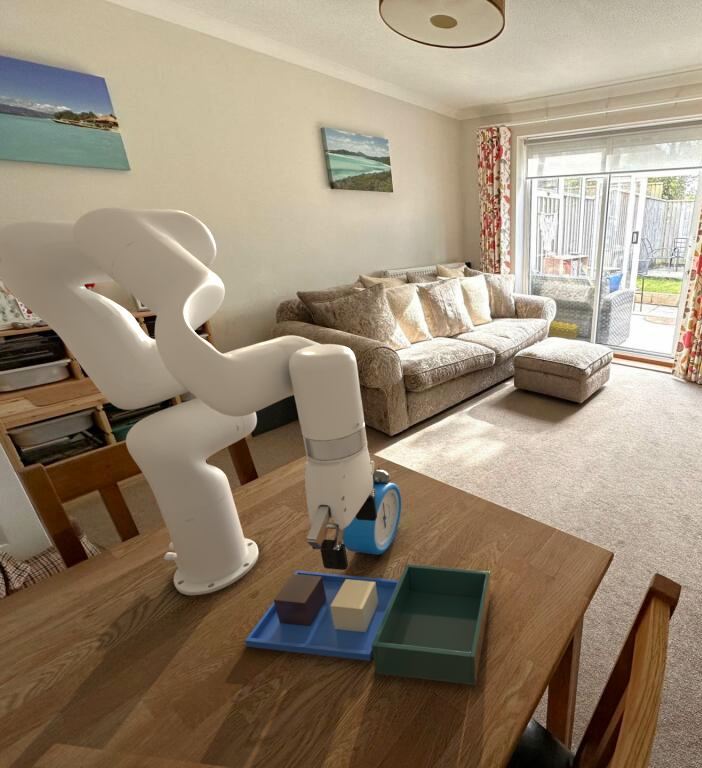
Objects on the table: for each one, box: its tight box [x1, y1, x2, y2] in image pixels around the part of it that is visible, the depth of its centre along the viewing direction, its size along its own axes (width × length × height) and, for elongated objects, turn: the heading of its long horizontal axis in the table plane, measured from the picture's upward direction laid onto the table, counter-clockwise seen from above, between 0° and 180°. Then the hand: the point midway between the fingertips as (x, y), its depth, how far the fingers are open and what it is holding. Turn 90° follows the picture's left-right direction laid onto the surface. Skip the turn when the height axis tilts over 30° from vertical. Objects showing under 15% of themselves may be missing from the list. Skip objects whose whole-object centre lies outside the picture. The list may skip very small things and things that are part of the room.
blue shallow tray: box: [244, 570, 399, 662], centre depth 65 cm, size 19×13×2 cm
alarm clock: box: [342, 467, 402, 557], centre depth 77 cm, size 13×6×15 cm, turn 172°
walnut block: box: [273, 573, 326, 626], centre depth 64 cm, size 5×5×5 cm
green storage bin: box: [372, 563, 491, 688], centre depth 62 cm, size 14×14×6 cm
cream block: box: [330, 579, 378, 632], centre depth 64 cm, size 5×5×5 cm
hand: (352, 541), depth 59 cm, fingers open, 9 cm apart
